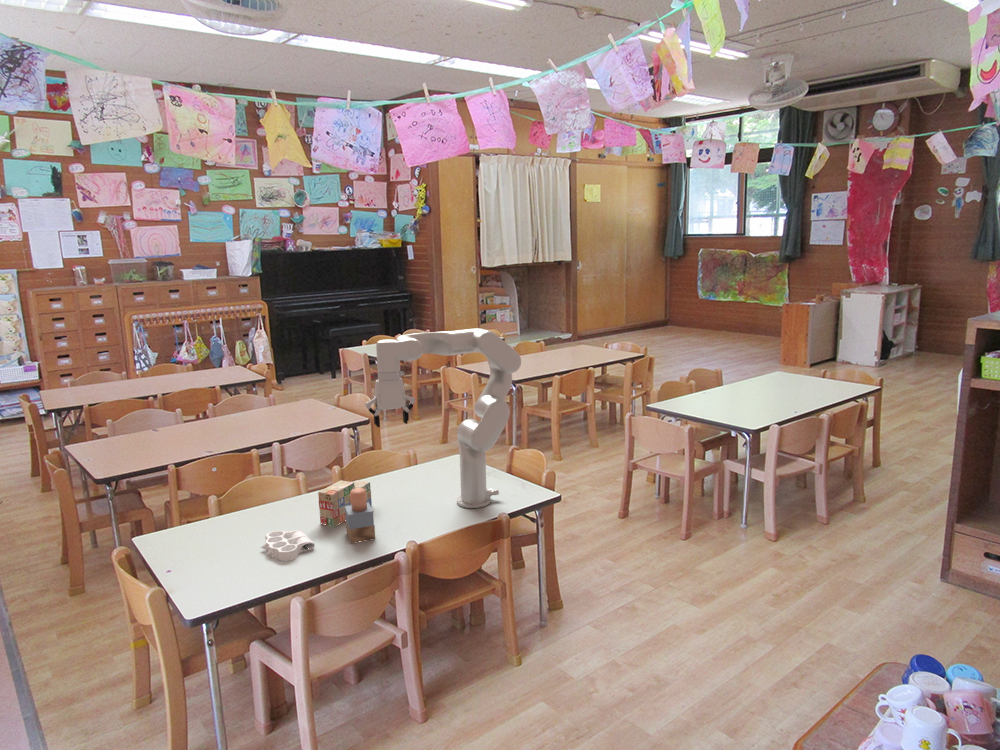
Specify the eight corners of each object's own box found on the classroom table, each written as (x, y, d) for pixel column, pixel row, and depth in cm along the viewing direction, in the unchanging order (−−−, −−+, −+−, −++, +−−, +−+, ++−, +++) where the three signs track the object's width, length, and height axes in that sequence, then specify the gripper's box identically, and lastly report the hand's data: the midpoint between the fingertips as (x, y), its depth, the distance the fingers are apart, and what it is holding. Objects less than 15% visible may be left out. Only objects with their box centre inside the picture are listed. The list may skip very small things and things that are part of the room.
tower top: (369, 516, 236) (368, 502, 235) (373, 525, 229) (373, 511, 228) (345, 520, 233) (344, 506, 232) (349, 529, 226) (348, 515, 225)
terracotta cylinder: (362, 502, 233) (361, 486, 232) (369, 508, 230) (368, 492, 228) (349, 507, 231) (347, 491, 229) (355, 513, 227) (354, 496, 225)
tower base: (370, 530, 237) (369, 516, 236) (375, 539, 230) (374, 525, 229) (346, 534, 234) (345, 520, 233) (351, 543, 227) (350, 529, 226)
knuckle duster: (318, 553, 221) (272, 566, 213) (299, 534, 236) (255, 545, 228) (317, 543, 221) (271, 556, 213) (299, 524, 235) (254, 535, 227)
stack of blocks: (358, 503, 261) (356, 471, 259) (372, 505, 258) (370, 474, 256) (320, 524, 242) (317, 491, 240) (334, 527, 240) (332, 493, 237)
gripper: (410, 371, 243) (413, 419, 246) (361, 376, 236) (364, 425, 240) (416, 375, 236) (419, 424, 240) (366, 380, 230) (369, 430, 233)
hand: (391, 424), depth 240 cm, fingers open, 9 cm apart
